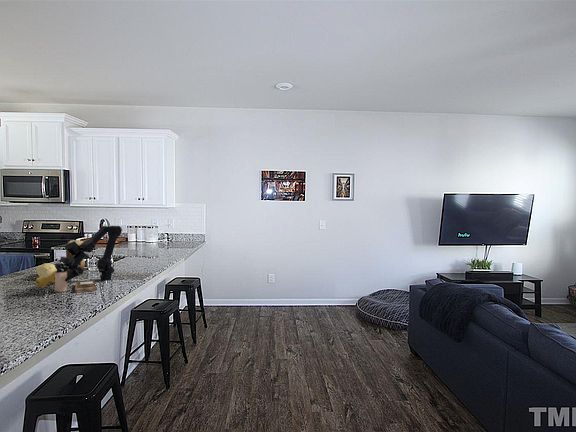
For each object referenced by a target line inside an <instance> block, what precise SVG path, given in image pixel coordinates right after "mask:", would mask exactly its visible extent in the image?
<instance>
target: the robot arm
mask: <svg viewBox="0 0 576 432" xmlns="http://www.w3.org/2000/svg"><path fill="white" fill-rule="evenodd" d="M122 232H123V228H122V227H121V226H120V225H110V226H107V225H102V226H100V228H99V230H97V231H96V232H95V233H94V234H93V235H92V236H91V237H90V238H89V239H87V240H85V241H83V243H82V244H81V245H79V246H78V244H77V243H76V242H74V241H73V242H72V243H69V244H68V245H67V244H66V245H65V246H64V249H65V251H66V250H67V251H68V252H69V253H70V254H71V255H74V256H73V257H68V258H67V257H66V256H61V257H60V258H59V262H58V263H56V264H54V265H55V267H56V269H57V272H56V273H59V272H67V270H70V273H68V274H67V278H66V279H65V281H66V282H67V283H68V281H71V280H72V279H74V278H76V277H78V276H80V275H83V273H84V268H83V269H82V268H81V267H80V266H78V265H81V262H82V260H83V259H84V260H85V259H89V254H88V253H92V252H93V251H94V250H95V248H96V245H97V244H98V243H99V241H100V240H101V239H103V238H104V237H105V235H106V234H107V235H108V239H107V243H106V246H105V250H104V252H103V256H102V258H99V259H98V261H97V264H96V267H97V271H98V272H99V273H101V274H100V276H99V277H100V278H99V280H100V281H101V282H107V281H112V278H113V277H112V274H114V273H115V269H114V267H113V266H112V255H113V252H114V249H115V245H116V242H117V239H118V238H119V237H120V236H121V234H122ZM64 265H66V266H64ZM54 279H55V278H54Z"/></svg>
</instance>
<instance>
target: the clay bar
mask: <svg viewBox="0 0 576 432" xmlns="http://www.w3.org/2000/svg"><path fill="white" fill-rule="evenodd" d="M66 272H67V271H66ZM66 272H59V273H55V283H54V292H60V293H62V292H66V291H68V281H67V282H66V281H65V279H66V278H67V276H68V272H67V273H66Z"/></svg>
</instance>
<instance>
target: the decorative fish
mask: <svg viewBox="0 0 576 432" xmlns="http://www.w3.org/2000/svg"><path fill="white" fill-rule="evenodd" d="M56 272H57V271H54V272H53V273H52V274H51V275H50V276H48V277H39V276H38V277H37V278H36V279H35V285H36V286H37V287H39V288H41V289H43V288H45V287H47V286H48V285H51V284H55V279H54V278H55V273H56ZM66 273H67V274H68V272H67V271H66Z"/></svg>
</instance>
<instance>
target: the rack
mask: <svg viewBox="0 0 576 432" xmlns="http://www.w3.org/2000/svg"><path fill="white" fill-rule="evenodd" d="M80 282H81V281H76V282H75V287H74V293H75V294H74V295H75V296H82V295H83V294H84V293H85V295H91V294H94V293H95V292H96V291H97V287H96V280H90V281H89V280H88V281H87V280H86V281H84V282H93V283H92V284H80Z"/></svg>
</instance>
